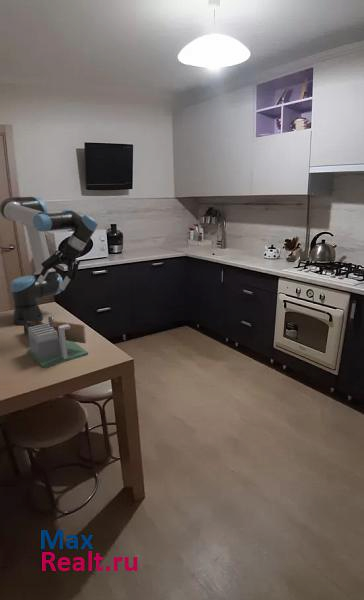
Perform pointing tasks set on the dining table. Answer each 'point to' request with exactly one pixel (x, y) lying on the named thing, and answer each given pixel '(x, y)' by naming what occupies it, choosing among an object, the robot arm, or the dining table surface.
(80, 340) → the hinge
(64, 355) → the heat sink
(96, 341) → the dining table surface
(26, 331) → the beverage carton
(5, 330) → the dining table surface
